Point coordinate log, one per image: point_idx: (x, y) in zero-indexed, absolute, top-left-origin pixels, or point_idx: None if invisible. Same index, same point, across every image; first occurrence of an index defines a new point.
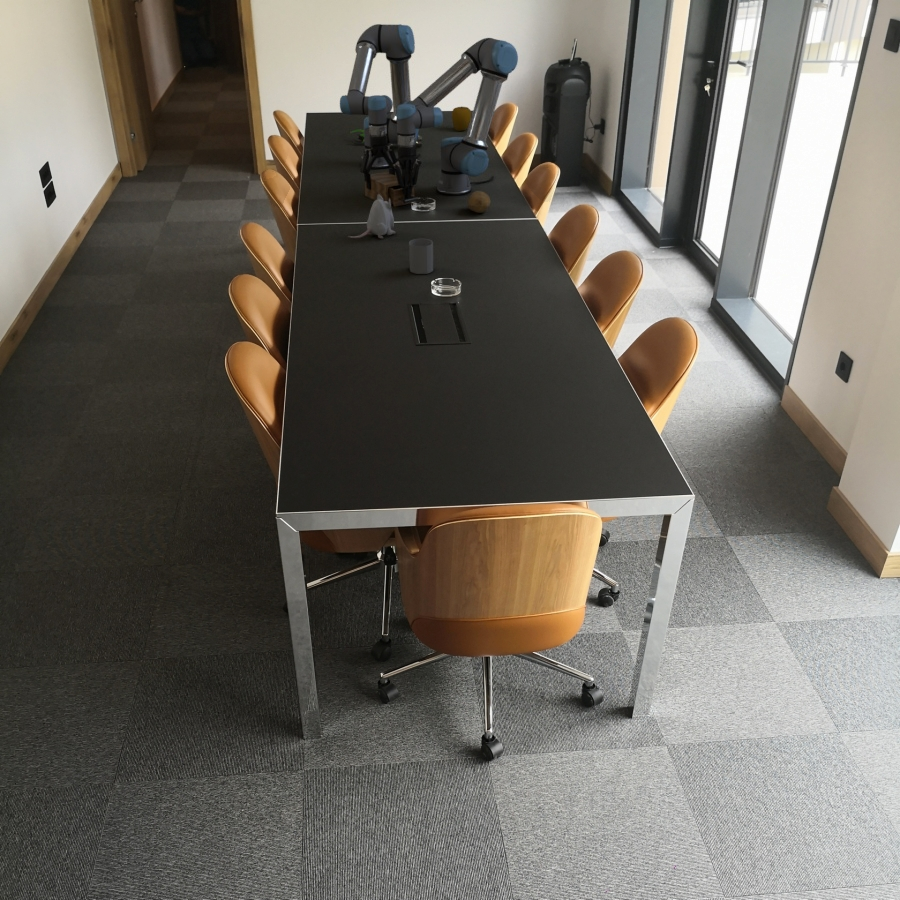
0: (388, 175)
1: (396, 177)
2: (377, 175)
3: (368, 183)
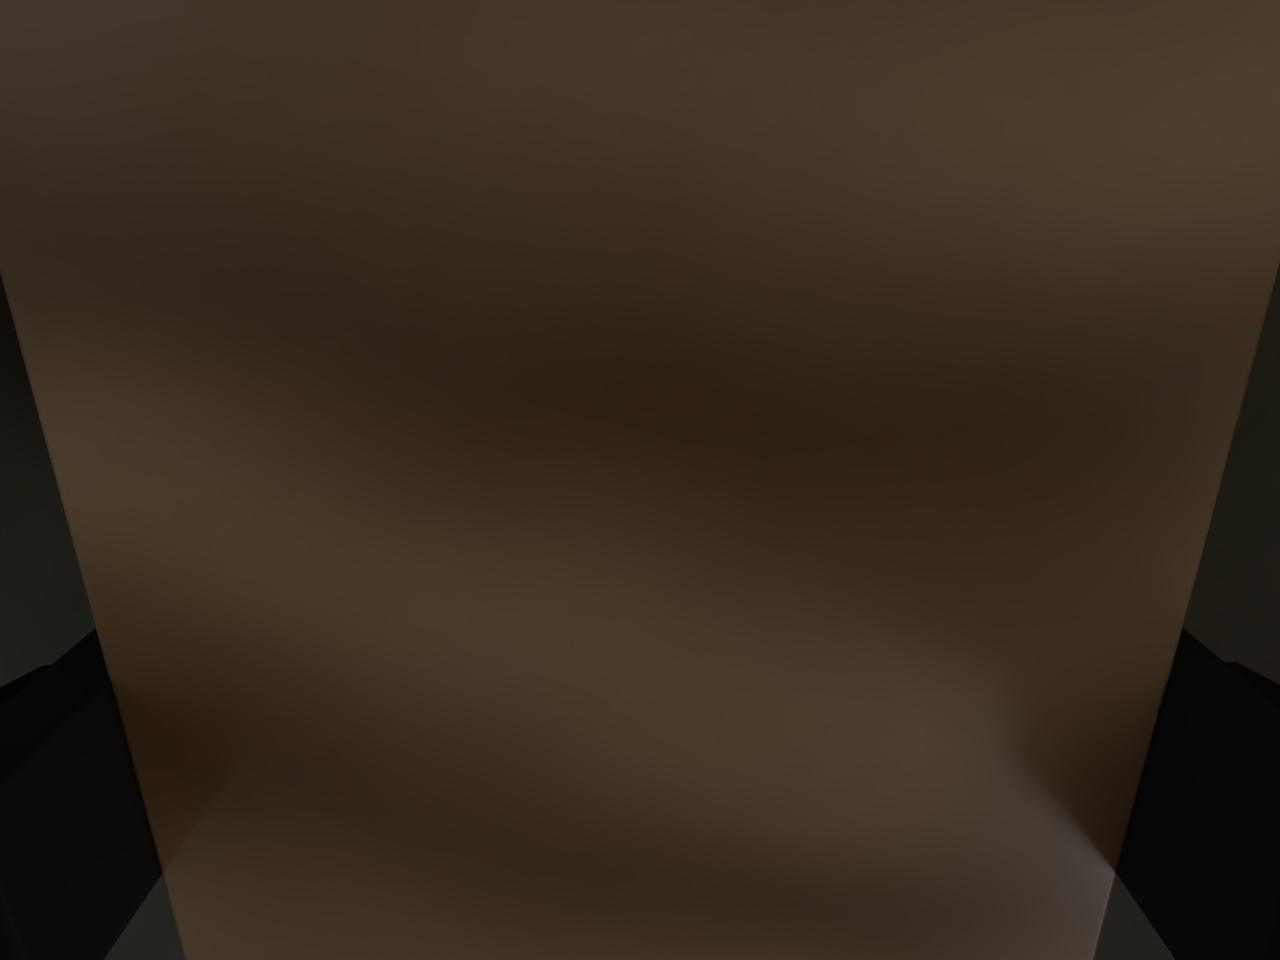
0: (321, 638)
1: (101, 146)
2: (697, 850)
3: None
